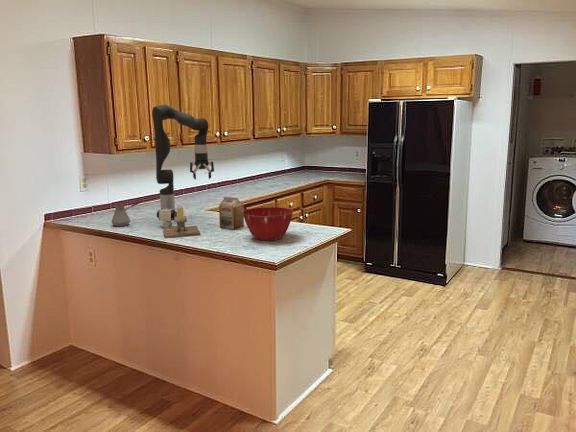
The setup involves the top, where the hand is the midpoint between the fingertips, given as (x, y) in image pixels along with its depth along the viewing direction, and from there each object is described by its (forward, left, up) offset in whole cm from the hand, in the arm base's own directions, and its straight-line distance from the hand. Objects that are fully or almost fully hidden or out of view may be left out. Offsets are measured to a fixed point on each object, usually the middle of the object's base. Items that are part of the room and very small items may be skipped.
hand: (202, 179), depth 306 cm
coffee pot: (-25, -45, -30) cm, 60 cm away
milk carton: (+6, +16, -30) cm, 35 cm away
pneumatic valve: (-9, -22, -30) cm, 39 cm away
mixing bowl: (+38, +31, -30) cm, 58 cm away
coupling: (+10, -15, -23) cm, 29 cm away
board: (+10, -15, -30) cm, 35 cm away
